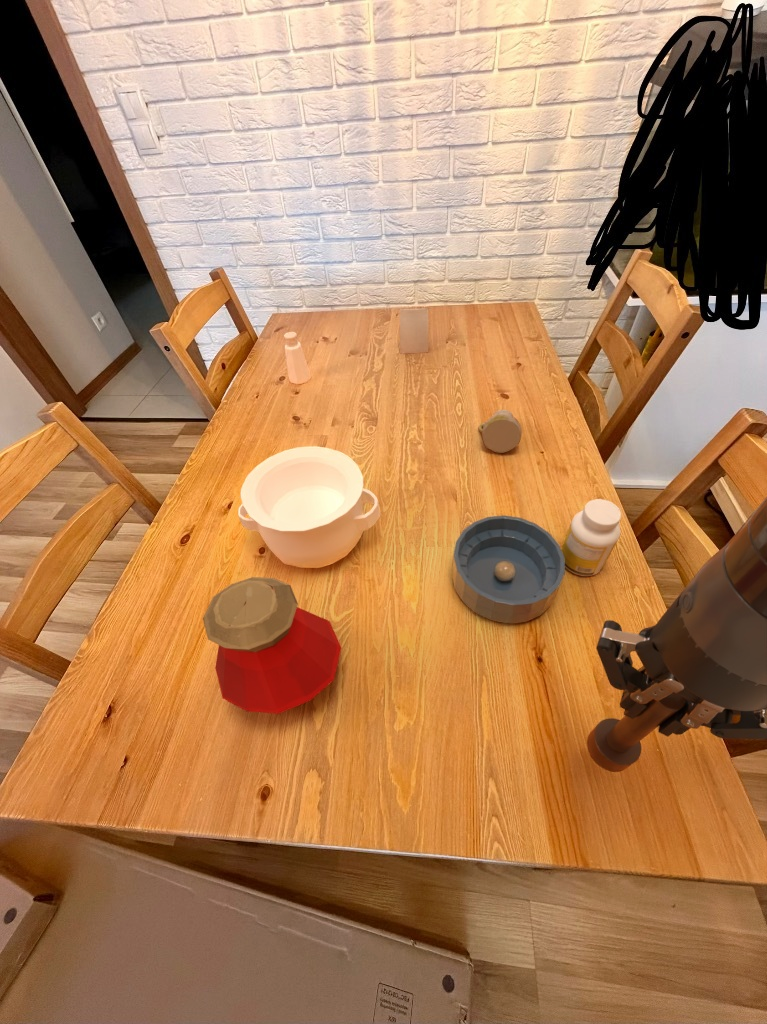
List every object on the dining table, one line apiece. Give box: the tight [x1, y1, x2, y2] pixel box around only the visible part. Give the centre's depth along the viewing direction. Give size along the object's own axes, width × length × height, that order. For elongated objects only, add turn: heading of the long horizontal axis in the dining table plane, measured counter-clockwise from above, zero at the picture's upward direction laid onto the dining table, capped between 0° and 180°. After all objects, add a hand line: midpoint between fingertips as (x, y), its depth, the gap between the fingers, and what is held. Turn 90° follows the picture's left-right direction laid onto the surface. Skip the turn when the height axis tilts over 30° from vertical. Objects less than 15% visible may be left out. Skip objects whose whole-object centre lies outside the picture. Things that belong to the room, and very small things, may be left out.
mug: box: [477, 409, 523, 454], centre depth 88 cm, size 8×10×10 cm
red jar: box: [202, 576, 342, 715], centre depth 54 cm, size 16×14×20 cm
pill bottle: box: [560, 498, 622, 577], centre depth 66 cm, size 6×6×12 cm
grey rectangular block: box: [398, 307, 430, 355], centre depth 110 cm, size 4×7×10 cm, turn 89°
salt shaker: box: [283, 331, 312, 385], centre depth 104 cm, size 5×5×11 cm
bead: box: [495, 561, 516, 581], centre depth 68 cm, size 3×3×3 cm
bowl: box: [451, 514, 566, 624], centre depth 67 cm, size 15×15×6 cm
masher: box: [586, 693, 685, 773], centre depth 42 cm, size 4×4×16 cm
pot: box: [237, 445, 381, 569], centre depth 72 cm, size 22×17×12 cm
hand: (646, 715), depth 40 cm, fingers closed on masher, 2 cm apart
